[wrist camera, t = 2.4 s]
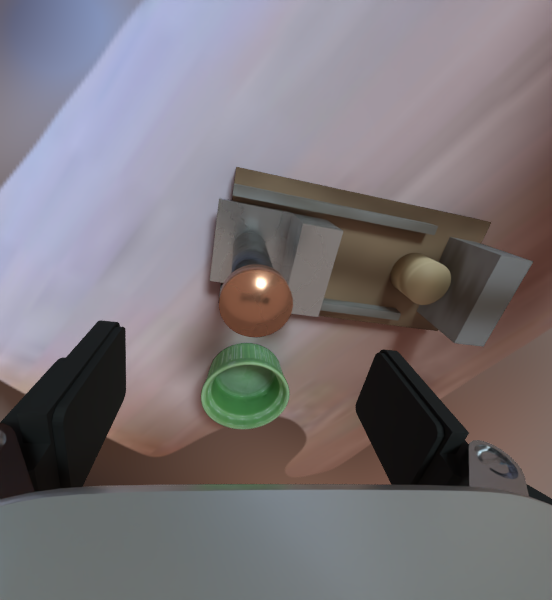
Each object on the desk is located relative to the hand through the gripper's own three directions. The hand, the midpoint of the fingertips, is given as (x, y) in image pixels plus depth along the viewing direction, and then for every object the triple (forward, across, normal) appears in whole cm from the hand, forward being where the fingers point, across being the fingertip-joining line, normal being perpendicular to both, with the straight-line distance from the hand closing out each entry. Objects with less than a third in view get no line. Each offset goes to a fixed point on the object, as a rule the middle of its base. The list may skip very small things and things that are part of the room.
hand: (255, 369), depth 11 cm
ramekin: (+19, -2, +14) cm, 24 cm away
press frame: (+18, -11, -1) cm, 21 cm away
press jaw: (+16, -2, -1) cm, 16 cm away
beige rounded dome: (+16, -16, -1) cm, 23 cm away
